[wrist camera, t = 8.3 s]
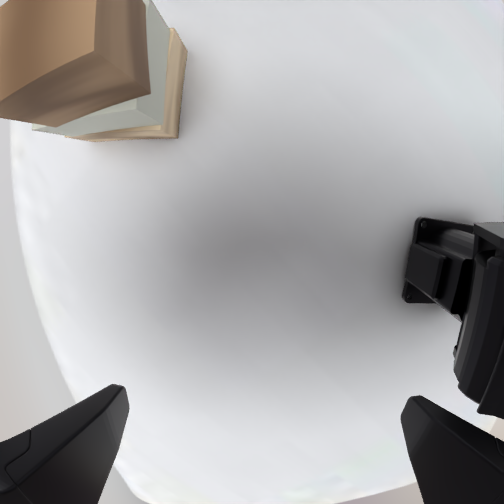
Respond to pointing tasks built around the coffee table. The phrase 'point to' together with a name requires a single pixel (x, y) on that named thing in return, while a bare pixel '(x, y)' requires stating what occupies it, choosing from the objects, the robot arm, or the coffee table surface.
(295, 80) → the coffee table surface
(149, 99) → the tower top
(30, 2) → the walnut block
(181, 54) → the tower base
